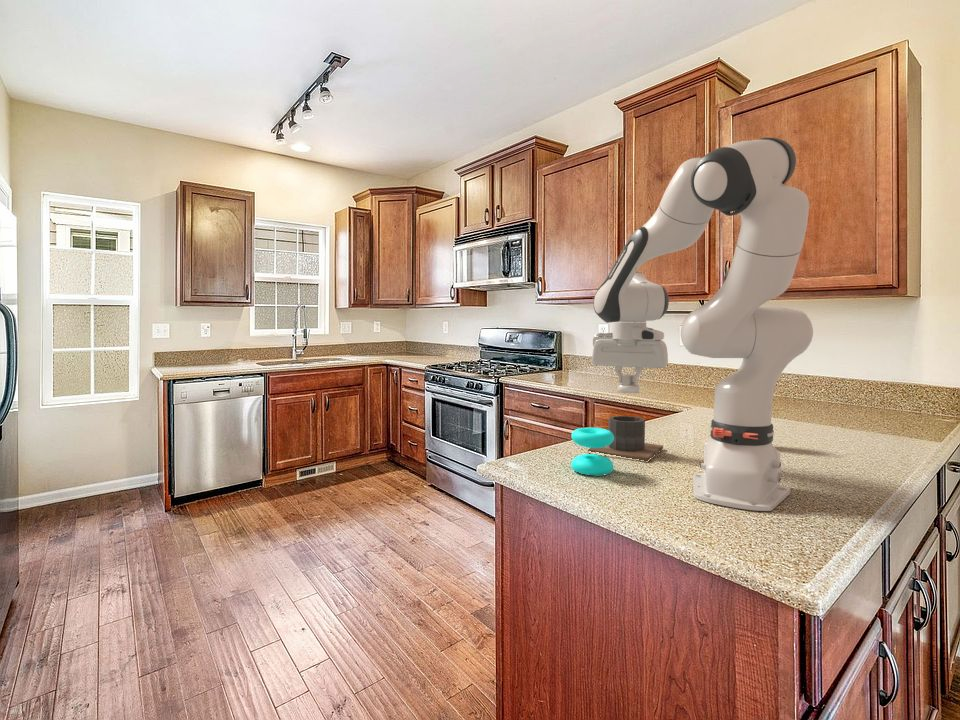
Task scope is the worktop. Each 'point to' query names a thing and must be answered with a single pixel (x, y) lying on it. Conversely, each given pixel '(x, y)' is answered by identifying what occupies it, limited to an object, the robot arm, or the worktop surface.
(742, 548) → the worktop surface
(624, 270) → the robot arm
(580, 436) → the donuts
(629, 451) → the cylinder on base plate
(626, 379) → the block on round base
